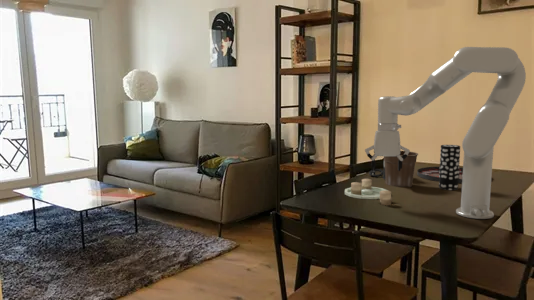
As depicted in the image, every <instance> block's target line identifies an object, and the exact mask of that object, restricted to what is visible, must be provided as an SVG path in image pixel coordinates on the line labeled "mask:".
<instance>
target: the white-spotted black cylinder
mask: <svg viewBox="0 0 534 300" xmlns="http://www.w3.org/2000/svg"><path fill="white" fill-rule="evenodd" d="M460 155H461V146H460V145H457V144H442V145H440V157H439V167H440V174H439V181H438V189H440V190H446V191H457V190H459V183H458V181H459V167H460V162H461V161H460V160H461V159H460V158H461V156H460Z"/></svg>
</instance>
